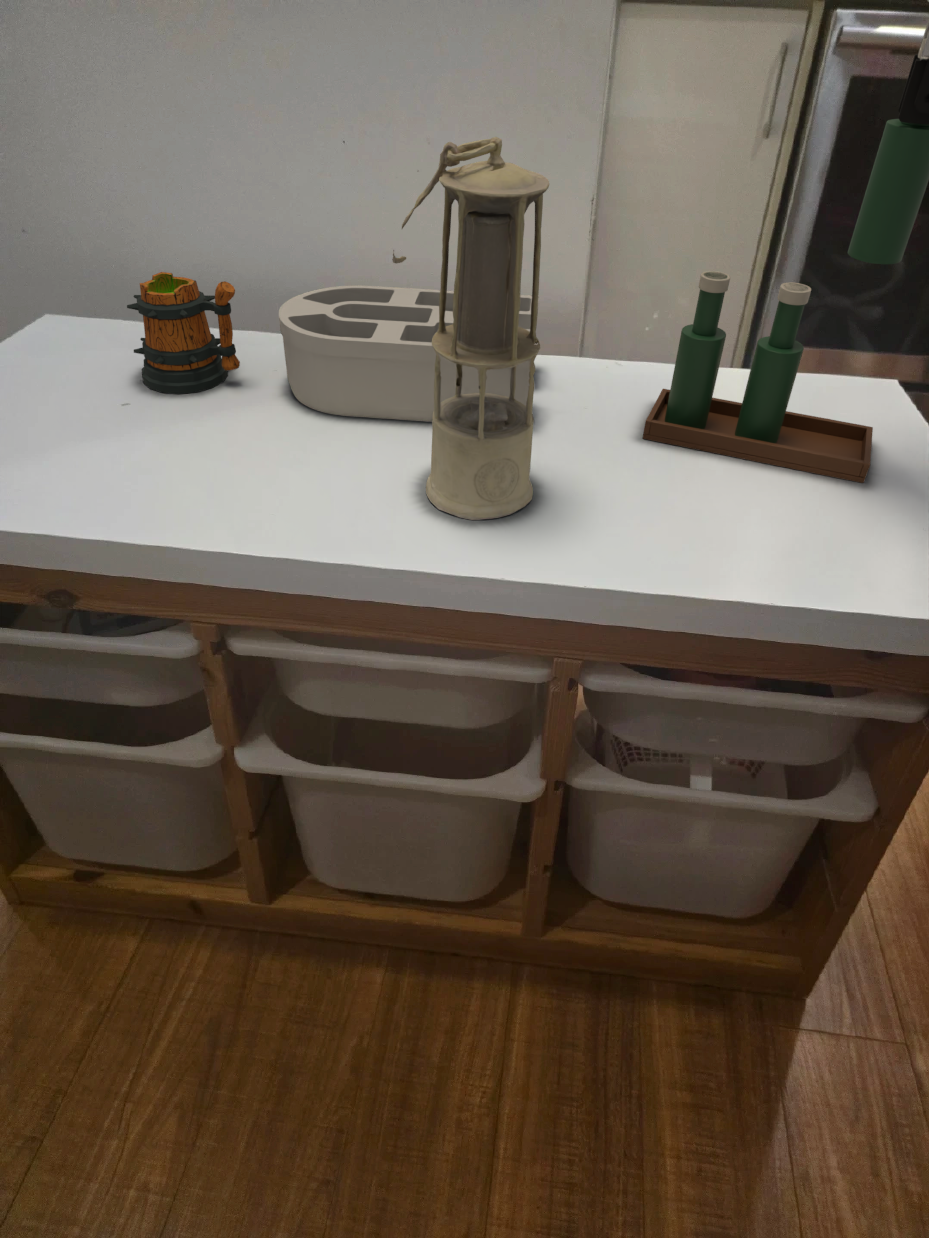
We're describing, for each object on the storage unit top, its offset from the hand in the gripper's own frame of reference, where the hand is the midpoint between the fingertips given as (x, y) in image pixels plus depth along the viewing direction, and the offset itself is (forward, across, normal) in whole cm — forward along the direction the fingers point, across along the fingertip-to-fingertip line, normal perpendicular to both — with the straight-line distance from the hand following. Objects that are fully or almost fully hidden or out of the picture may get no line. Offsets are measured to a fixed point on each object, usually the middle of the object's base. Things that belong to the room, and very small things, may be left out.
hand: (919, 117), depth 67 cm
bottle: (+10, 0, 0) cm, 10 cm away
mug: (+31, -7, +68) cm, 75 cm away
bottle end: (+30, +4, +13) cm, 33 cm away
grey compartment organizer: (+31, 0, +44) cm, 54 cm away
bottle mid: (+30, +3, +6) cm, 31 cm away
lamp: (+31, -18, +30) cm, 47 cm away
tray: (+31, +3, +6) cm, 32 cm away
